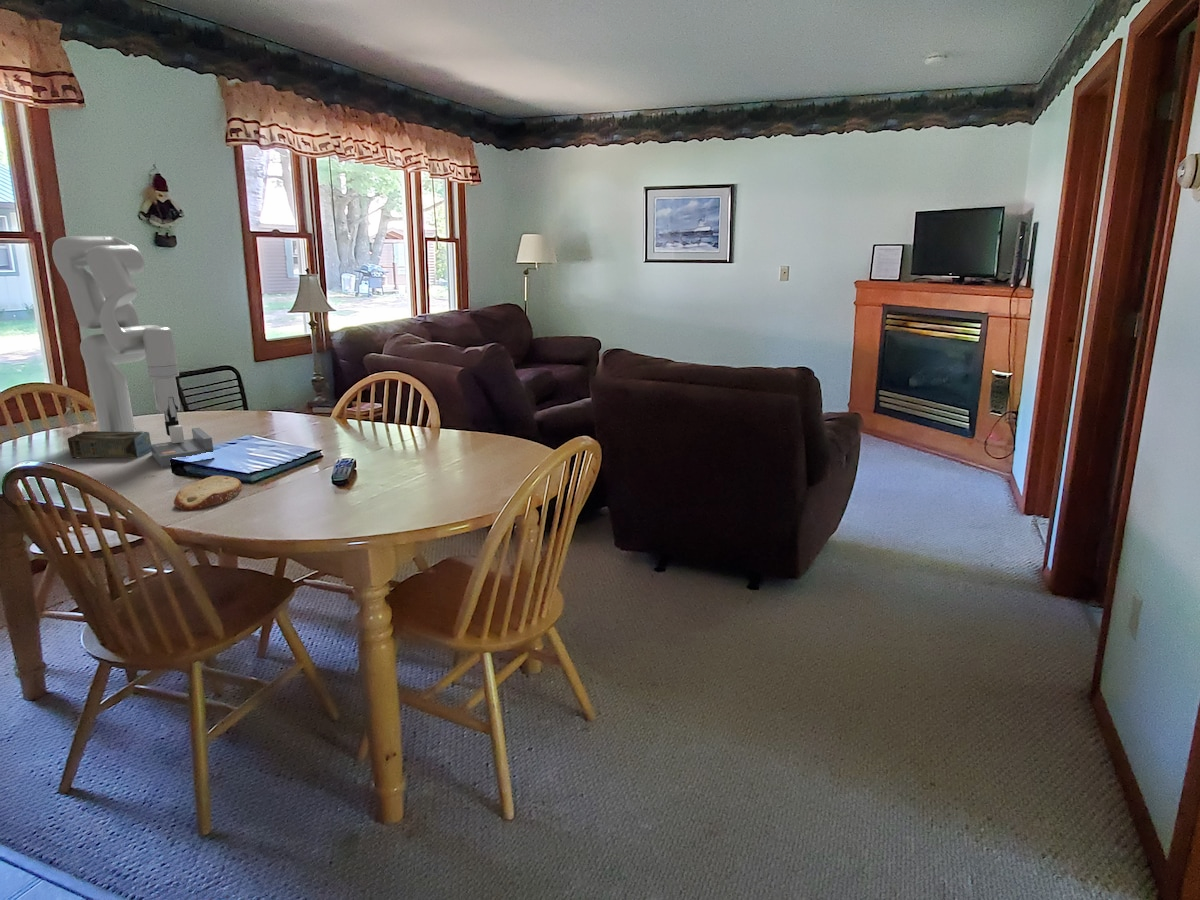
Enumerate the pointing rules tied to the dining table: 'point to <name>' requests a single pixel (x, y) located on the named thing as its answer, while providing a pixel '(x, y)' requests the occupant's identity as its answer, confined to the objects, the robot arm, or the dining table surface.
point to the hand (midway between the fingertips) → (173, 434)
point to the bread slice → (207, 493)
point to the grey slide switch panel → (182, 447)
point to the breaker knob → (176, 434)
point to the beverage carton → (109, 444)
